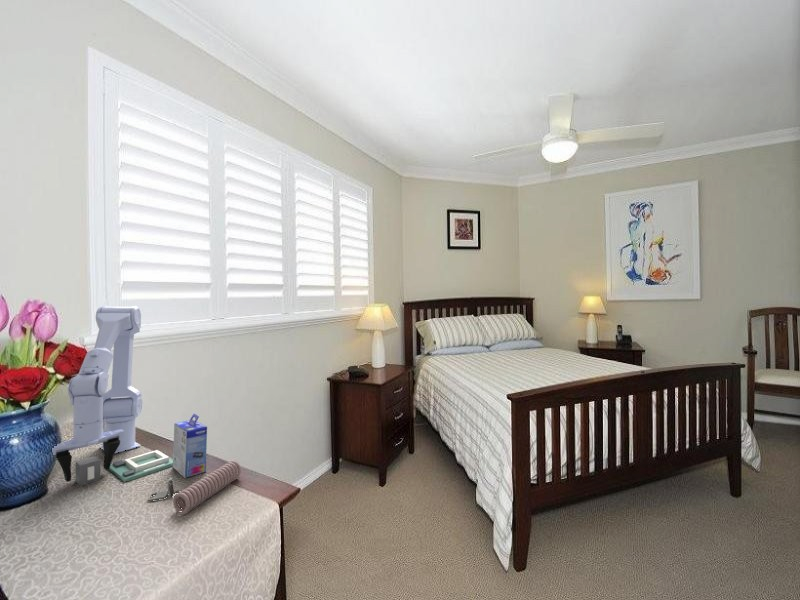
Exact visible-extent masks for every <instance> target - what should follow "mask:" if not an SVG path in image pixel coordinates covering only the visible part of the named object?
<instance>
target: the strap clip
mask: <svg viewBox="0 0 800 600" xmlns="http://www.w3.org/2000/svg"><path fill="white" fill-rule="evenodd" d="M166 487H167V490H163V491H157V492H153V493H151V494H149V497H148V499H147V502H148V501H153V500H159V499H164V498H166V497H167V496H168V497H167V498H170V497H172V496H173V494H175V493H180V492H179V491H183V490H184V489H181V490H176V491H175V489H174V481H173V477H172V476H171V477H169V479H168V481H167V486H166ZM168 494H169V495H168ZM153 495H155V496H153ZM151 496H152V497H151ZM150 498H151V499H150ZM167 498H166V499H167ZM164 500H165V499H164ZM159 501H160V500H159Z"/></svg>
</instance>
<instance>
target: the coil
mask: <svg viewBox="0 0 800 600" xmlns="http://www.w3.org/2000/svg"><path fill="white" fill-rule="evenodd" d="M241 473H242V468H241V464H239V462H238V461H236V460H230V461H228V462H226V463H225V464H223V465H222V466H220V467H219V468H217V469H215V470H214V471H212V472H210V473H209V474H207V475H205V476H204V477H202V478H201V479H198V480H197V481H195V482H194V483H192V484H191V485H189V486H187V487H186V488H184V489H182V490H183V491H181V490H180V491H181V492H180V493H178V494H176V495H175V496H174V498H172V504H173V507H174V509H175V510H176V511H177V512H178V511H182V512H178V513H177V514H178V515H183V516H185V515H187V512H188V513H189V512H191V511H192V510H194V509H195V508H197V507H198V506H199V504H200V505H201V504H202V503H204V502H205V501H206V499H207V500H208V499H209V497H210V498H211V497H212V496H214V495H215V494H216V493H218V492H220V491H221V490H223V489H224V488H225V487H227V486H228V485H230V484H231V483H232V482H234V481H236V480H237V479H238V478H239V477H240V475H241ZM181 508H182V509H181ZM191 509H192V510H191Z"/></svg>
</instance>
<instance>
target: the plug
mask: <svg viewBox="0 0 800 600" xmlns="http://www.w3.org/2000/svg"><path fill="white" fill-rule="evenodd" d="M74 463H75V465H74V466H75V467H74V468H75V472H74V473H75V476H74V477H75V482H76V483H77V484H78V485H79V486H83V485H84V486H85V485H86V484H89V483H92V482H95V481H99V480H101V459H100V457H97V456H96V455H94V456H90V457H86V458H83V459H80V460H76V461H74Z"/></svg>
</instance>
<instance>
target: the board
mask: <svg viewBox="0 0 800 600" xmlns="http://www.w3.org/2000/svg"><path fill="white" fill-rule="evenodd" d="M171 467H173V458H171V457H170V456H168V454H167V455H166V454H165V453H163V452H162V451H160V450H158V449H156V450H153V451H149V452H146V453H142V454H139V455H136V456H133V457H132V456H131V457H129V458H125V459H121V460H120V459H119V460H118V461H114V462H113V461H112V463H111V464H110V469H108V471H110V472H111V473H112V474H114V475H115V476H116V477H117V478H118V479H120V480H121V481H123V483H126V481H127V482H129V481H132V480H136V479H138V478H142V477H145V476H147V475H150V474H153V473H156V472H159V471H162V470H165V469H167V468H168V469H169V468H171Z"/></svg>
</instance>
